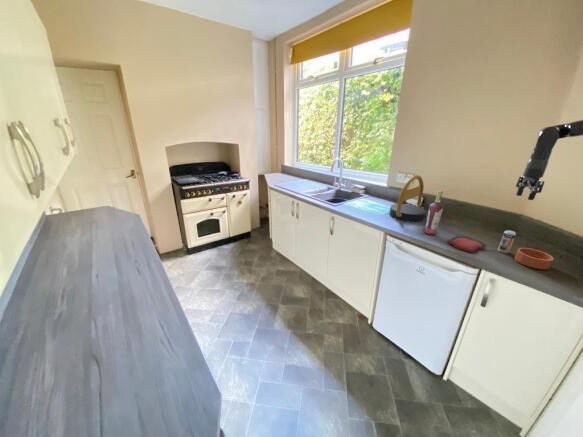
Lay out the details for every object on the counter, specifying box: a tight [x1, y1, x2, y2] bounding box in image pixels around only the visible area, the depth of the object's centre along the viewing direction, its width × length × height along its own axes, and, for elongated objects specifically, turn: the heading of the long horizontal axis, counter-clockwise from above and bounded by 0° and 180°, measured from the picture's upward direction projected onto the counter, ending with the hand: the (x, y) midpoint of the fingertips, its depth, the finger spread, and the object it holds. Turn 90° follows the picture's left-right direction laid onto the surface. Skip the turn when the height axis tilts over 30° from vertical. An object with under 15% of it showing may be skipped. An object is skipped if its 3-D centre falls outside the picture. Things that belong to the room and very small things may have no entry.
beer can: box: [497, 229, 517, 254], centre depth 126 cm, size 5×5×12 cm
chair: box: [388, 174, 427, 223], centre depth 173 cm, size 25×35×32 cm
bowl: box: [514, 247, 554, 270], centre depth 116 cm, size 13×13×6 cm
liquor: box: [423, 189, 445, 236], centre depth 145 cm, size 7×7×28 cm
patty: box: [447, 237, 484, 254], centre depth 134 cm, size 18×14×2 cm
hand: (524, 197), depth 128 cm, fingers open, 8 cm apart
